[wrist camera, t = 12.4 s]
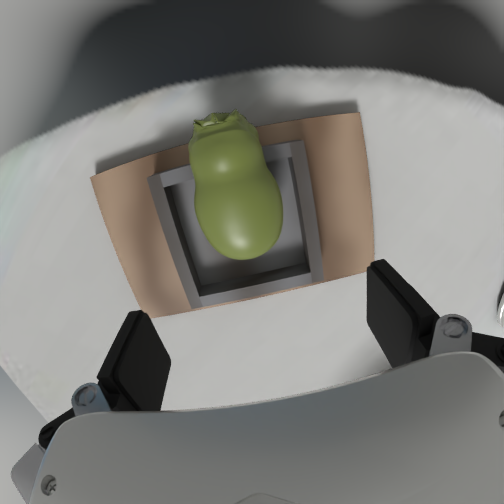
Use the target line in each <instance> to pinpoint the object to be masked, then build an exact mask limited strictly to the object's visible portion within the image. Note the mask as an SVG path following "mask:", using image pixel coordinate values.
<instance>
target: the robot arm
mask: <svg viewBox="0 0 504 504" xmlns="http://www.w3.org/2000/svg"><path fill="white" fill-rule="evenodd" d="M497 321H498V323H499V324H500V325H501V326H502V327H503V328H504V293H503V296H502V298H501V301H500V304H499V308H498V313H497ZM367 323H368V326H369V327H370V329H371V331H372V333H373V334H374V336H375V338H376V339H377V341H378V343H379V345H380V346H381V348H382V350H383V352H384V354H385V355H386V357H387V359H388V361H389V363H390V364H391V366H392V369H389V370H386V371H383V372H380V373H377V374H374V375H370V376H367V377H364V378H360V379H357V380H353V381H350V382H346V383H343V384H339V385H335V386H331V387H327V388H323V389H319V390H315V391H311V392H306V393H301V394H297V395H292V396H287V397H282V398H276V399H271V400H265V401H258V402H252V403H245V404H238V405H230V406H221V407H211V408H200V409H187V410H168V411H160V410H161V405H162V401H163V396H164V392H165V387H166V383H167V379H168V375H169V371H170V366H171V359H170V356H169V355H168V353H167V351H166V349H165V347H164V345H163V343H162V341H161V339H160V337H159V335H158V333H157V331H156V329H155V327H154V325H153V323H152V321H151V319H150V317H149V315H148V314H147V313H144V312H143V311H142V310H138V311H131V312H129V313H128V315H127V317H126V319H125V321H124V323H123V324H122V326H121V328H120V330H119V332H118V334H117V336H116V338H115V340H114V342H113V344H112V346H111V348H110V350H109V352H108V354H107V356H106V358H105V360H104V363H103V365H102V367H101V369H100V371H99V373H98V375H97V379H98V380H99V382H98V384H96V383H86V384H84V385H82V386H80V387H79V388H78V389H77V390H76V391H75V392H74V394H73V396H72V399H71V402H72V406H73V408H71V409H70V410H68V411H67V412H65V413H64V414H62V415H61V416H59V417H57V418H56V419H54V420H53V421H51V422H50V423H48V424H47V425H45V426H44V427H43V428H42V429H41V431H40V434H39V445H38V444H37V443H35V444H34V445H33V446H32V447H31V448H30V449H29V450H28V451H27V452H26V453H25V454H24V456H23V457H22V458H21V459H20V460H19V461H18V462H17V463H16V464H15V465H14V467H13V468H12V471H11V478H12V481H13V482H14V484H15V486H16V488H17V489H18V491H19V492H20V494H21V495H22V497H23V499H24V500H25V502H26V504H504V338H500V337H495V336H490V335H485V334H480V333H475V332H472V325H471V323H470V322H469V321H468V320H467V319H466V318H465V317H463V316H461V315H457V314H448V315H444V316H442V317H440V316H439V315H438V314H437V313H436V312H435V311H434V310H433V309H432V308H431V306H430V305H429V304H428V303H427V302H426V301H425V300H424V299H423V298H422V297H421V296H420V294H419V293H418V292H417V291H416V290H415V289H414V288H413V287H412V286H411V285H410V284H408V283H407V282H406V281H405V280H404V279H403V278H402V276H401V275H400V274H399V273H398V272H397V271H396V270H395V269H394V268H393V267H392V266H391V265H390V264H389V263H388V262H387V261H386V260H384V259H381V260H377V261H373V262H371V263H370V266H368V267H367Z"/></svg>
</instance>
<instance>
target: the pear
mask: <svg viewBox="0 0 504 504" xmlns="http://www.w3.org/2000/svg"><path fill="white" fill-rule="evenodd" d="M213 114H214V115H213ZM229 114H230V113H222V114H221V113H211V114H210V115H208V117H206V118H205V119H204V120H203V119H202V120H194V122H196V123H193V125H194V130H193V136H192V138H191V140H190V141H189V145H188V149H189V161H190V166H191V169H192V172H193V176H194V180H195V194H194V208H195V213H196V217H197V220H198V223H199V225H200V227H201V229H202V231H203V233H204V235H205V237H206V239H207V240H208V241H209V243H210V244H211V245H212V247H213V248H214V249H215V250H216V251H218V252H219V253H220V254H222V255H224V256H226V257H228V258H232V259H237V260H247V259H252V258H256V257H258V256H261V255H263V254H264V253H266V252H267V251H269V250H270V249H271V248H272V247H273V246H274V245H275V243H276V242H277V240H278V239H279V236H280V234H281V231H282V226H283V202H282V196H281V192H280V189H279V186H278V184H277V182H276V180H275V178H274V177H273V175H272V174H271V172H270V171H269V170H268V168H267V166H266V162H265V159H264V154H263V150H262V147H261V144H260V142H259V135H258V132H257V130H256V128H255V127H254V126H253V125H252V124H250V123H248V121H247V120H246V118H245V117H244V116H243V115H241V114H239V112H238V111H237V109H235V110H233V111H232V112H231V114H230V115H229ZM214 117H215V119H214Z"/></svg>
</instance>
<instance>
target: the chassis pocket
mask: <svg viewBox="0 0 504 504" xmlns="http://www.w3.org/2000/svg"><path fill="white" fill-rule="evenodd" d="M255 128H256V130H257V132H258V135H259V142H260V144H261V147H262V150H263V154H264V159H265V162H266V166H267V168H268V170H269V171H270V172H271V174H272V175H273V177H274V178H275V180H276V182H277V184H278V186H279V189H280V192H281V196H282V202H283V226H282V231H281V234H280V236H279V239H278V240H277V242H276V243H275V245H274V246H273V247H272V248H271V249H270V250H269V251H267V252H266V253H264V254H263V255H261V256H258V257H256V258H252V259H247V260H237V259H232V258H228V257H226V256H224V255H222V254H220V253H219V252H218V251H216V250H215V249H214V248H213V247H212V245H211V244H210V243H209V241H208V240H207V239H206V237H205V235H204V233H203V231H202V229H201V227H200V225H199V223H198V220H197V217H196V213H195V208H194V194H195V180H194V176H193V172H192V169H191V166H190V161H189V149H188V145H189V143H188V144H184V145H181V146H177V147H174V148H171V149H167V150H164V151H161V152H158V153H155V154H152V155H149V156H146V157H143V158H140V159H137V160H134V161H131V162H128V163H126V164H123V165H120V166H117V167H115V168H112V169H110V170H107V171H104V172H102V173H99V174H97V175H94V176H92V177H90V179H91V182H92V185H93V189H94V192H95V195H96V198H97V201H98V204H99V207H100V210H101V213H102V216H103V219H104V222H105V225H106V227H107V230H108V233H109V235H110V238H111V241H112V243H113V246H114V248H115V251H116V254H117V256H118V258H119V261H120V263H121V266H122V268H123V270H124V273H125V275H126V277H127V280H128V282H129V284H130V287H131V289H132V291H133V293H134V295H135V297H136V300H137V302H138V304H139V306H140V308H141V310H142V311H143V312H144V313H147V314H148V315H149V317H150V319H151V318H156V317H162V316H168V315H174V314H179V313H185V312H190V311H195V310H201V309H206V308H211V307H216V306H221V305H226V304H231V303H236V302H240V301H245V300H250V299H255V298H259V297H264V296H268V295H273V294H277V293H282V292H286V291H290V290H294V289H299V288H303V287H307V286H311V285H315V284H319V283H324V282H328V281H332V280H335V279H339V278H343V277H347V276H351V275H355V274H359V273H362V272H366V271H367V267H368V266H370V263H371V262H373V261H374V235H373V216H372V202H371V191H370V180H369V171H368V163H367V155H366V148H365V141H364V135H363V128H362V123H361V117H360V112H359V113H348V114H337V115H329V116H320V117H313V118H305V119H299V120H292V121H286V122H280V123H275V124H269V125H264V126H259V127H255Z"/></svg>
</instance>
